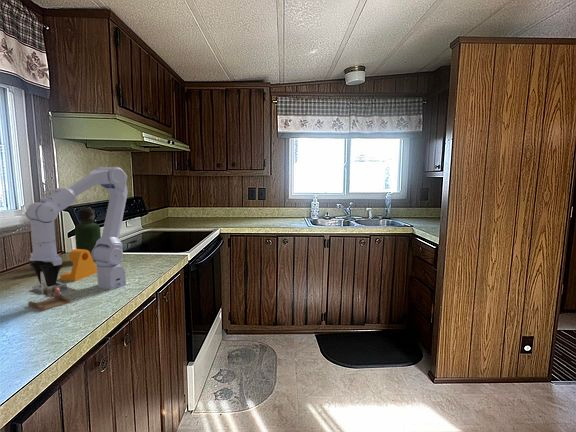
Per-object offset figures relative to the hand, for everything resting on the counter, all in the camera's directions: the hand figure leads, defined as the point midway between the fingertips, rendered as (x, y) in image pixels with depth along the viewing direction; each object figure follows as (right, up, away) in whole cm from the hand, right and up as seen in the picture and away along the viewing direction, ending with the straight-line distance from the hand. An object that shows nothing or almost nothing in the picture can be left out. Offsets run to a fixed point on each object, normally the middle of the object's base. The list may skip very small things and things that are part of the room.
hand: (48, 284), depth 101 cm
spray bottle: (-21, 0, +56) cm, 59 cm away
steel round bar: (0, -3, 0) cm, 3 cm away
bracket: (-9, -4, +28) cm, 30 cm away
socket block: (-8, -6, +13) cm, 16 cm away
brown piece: (0, -7, +1) cm, 7 cm away
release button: (-4, -6, +10) cm, 12 cm away
